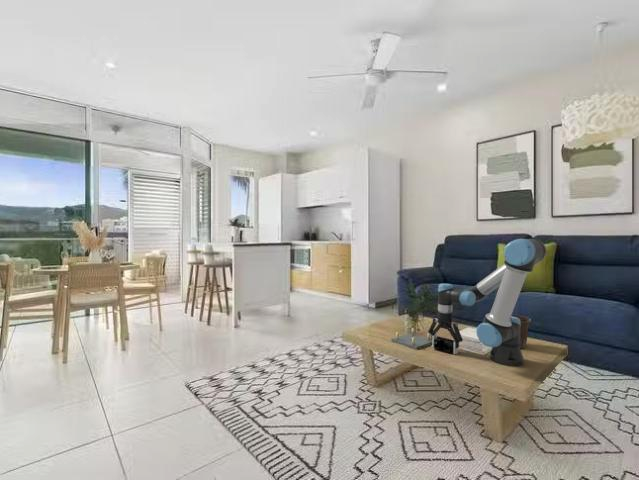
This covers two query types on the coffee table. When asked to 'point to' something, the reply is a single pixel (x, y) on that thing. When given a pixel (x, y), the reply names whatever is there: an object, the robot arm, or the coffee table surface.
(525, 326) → the plant pot
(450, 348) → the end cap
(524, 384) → the coffee table surface
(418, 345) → the standoff plate
